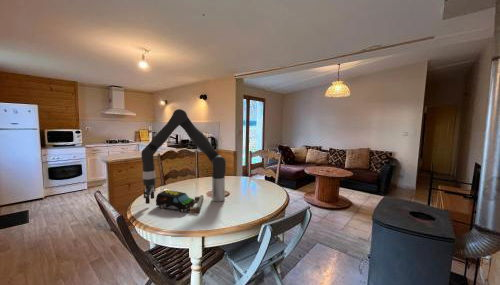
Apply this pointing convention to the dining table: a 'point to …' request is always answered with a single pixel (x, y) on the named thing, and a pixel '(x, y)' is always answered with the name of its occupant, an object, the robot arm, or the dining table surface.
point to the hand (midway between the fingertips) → (150, 200)
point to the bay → (199, 205)
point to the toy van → (174, 200)
